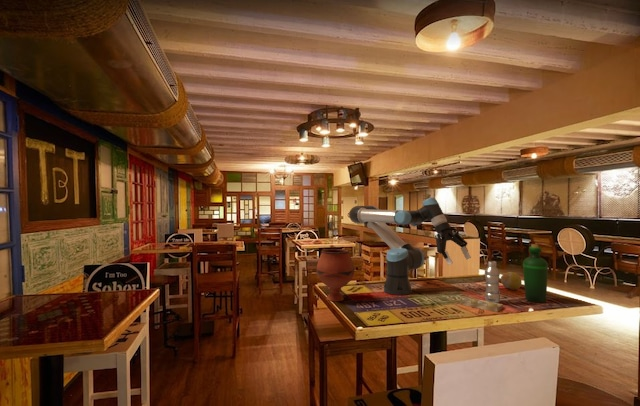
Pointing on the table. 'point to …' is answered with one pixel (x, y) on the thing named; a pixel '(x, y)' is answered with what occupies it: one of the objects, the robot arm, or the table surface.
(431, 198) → the robot arm
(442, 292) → the table surface
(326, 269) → the goblet
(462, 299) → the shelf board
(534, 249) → the bottle
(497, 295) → the plastic bottle
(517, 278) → the fruit
